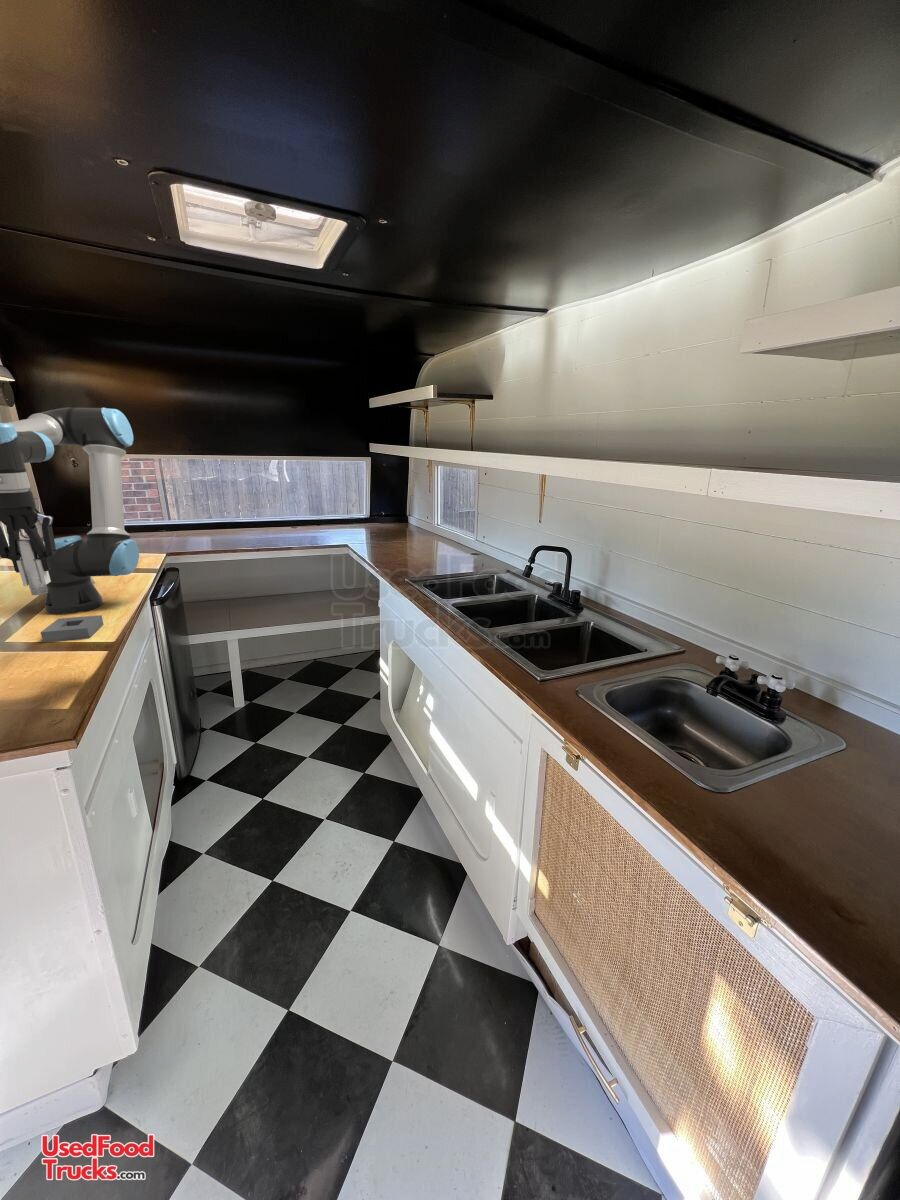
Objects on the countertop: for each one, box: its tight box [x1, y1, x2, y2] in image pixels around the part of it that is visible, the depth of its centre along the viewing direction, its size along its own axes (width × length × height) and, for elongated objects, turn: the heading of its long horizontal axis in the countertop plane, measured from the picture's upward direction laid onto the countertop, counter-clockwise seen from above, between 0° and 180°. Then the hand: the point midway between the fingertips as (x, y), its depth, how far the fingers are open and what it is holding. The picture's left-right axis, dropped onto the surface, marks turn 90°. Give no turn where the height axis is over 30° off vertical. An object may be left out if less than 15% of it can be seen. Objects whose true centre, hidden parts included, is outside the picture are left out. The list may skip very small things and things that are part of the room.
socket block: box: [40, 614, 104, 643], centre depth 139 cm, size 11×11×3 cm
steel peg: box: [16, 537, 48, 596], centre depth 123 cm, size 3×3×14 cm
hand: (37, 583), depth 124 cm, fingers closed on steel peg, 3 cm apart
